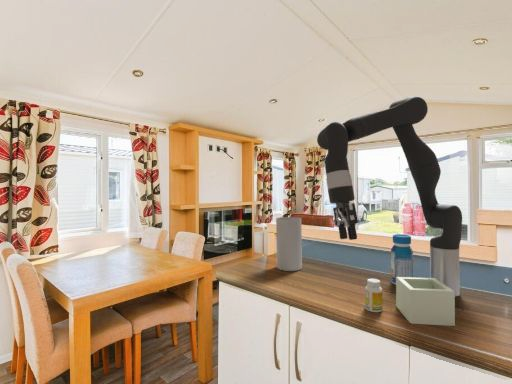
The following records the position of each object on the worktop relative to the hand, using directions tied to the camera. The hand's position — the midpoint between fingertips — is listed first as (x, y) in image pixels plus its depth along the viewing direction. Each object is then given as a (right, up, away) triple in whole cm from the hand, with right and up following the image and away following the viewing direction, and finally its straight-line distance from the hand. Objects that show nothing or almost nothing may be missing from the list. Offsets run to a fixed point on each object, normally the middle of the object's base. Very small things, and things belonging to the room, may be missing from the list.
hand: (348, 239), depth 86 cm
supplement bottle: (+11, -25, +7) cm, 28 cm away
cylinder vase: (-11, -24, +56) cm, 62 cm away
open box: (+24, -24, +2) cm, 34 cm away
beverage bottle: (+33, -24, +32) cm, 51 cm away
